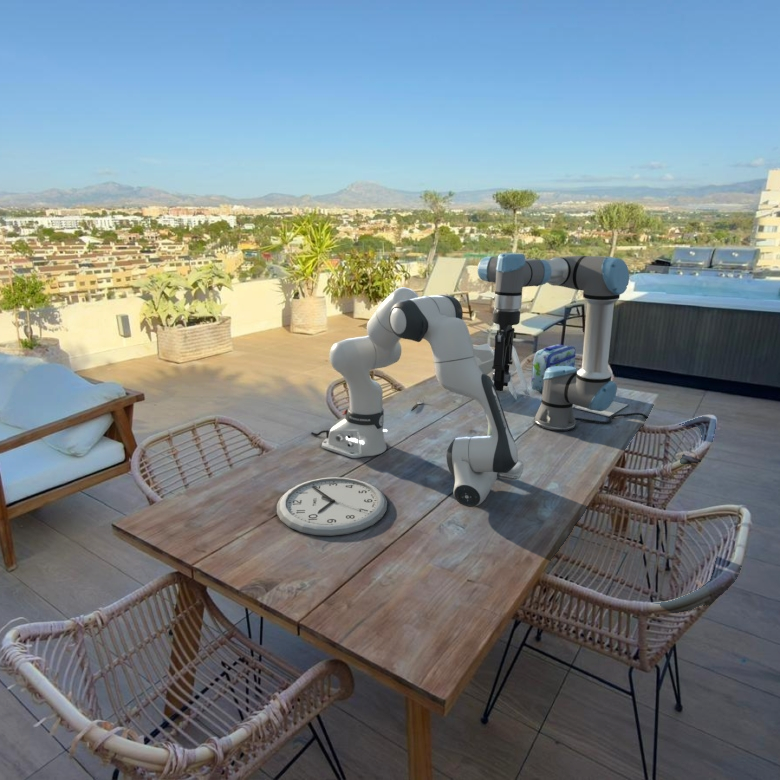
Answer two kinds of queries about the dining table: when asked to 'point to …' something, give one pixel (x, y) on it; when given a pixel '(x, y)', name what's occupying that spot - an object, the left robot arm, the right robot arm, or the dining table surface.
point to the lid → (506, 376)
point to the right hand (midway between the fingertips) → (500, 387)
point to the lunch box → (550, 362)
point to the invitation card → (609, 411)
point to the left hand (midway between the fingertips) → (493, 454)
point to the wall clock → (331, 506)
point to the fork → (418, 403)
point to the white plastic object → (486, 360)
